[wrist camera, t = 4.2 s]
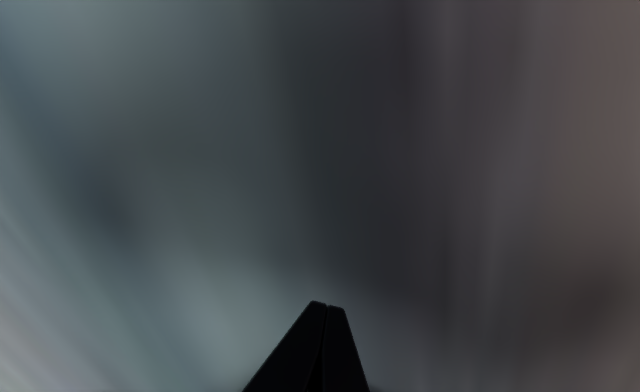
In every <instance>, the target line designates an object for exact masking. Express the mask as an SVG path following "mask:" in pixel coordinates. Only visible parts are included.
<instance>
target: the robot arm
mask: <svg viewBox="0 0 640 392" xmlns="http://www.w3.org/2000/svg"><path fill="white" fill-rule="evenodd" d="M307 389H308V390H307ZM242 392H370V390H369V387H368V384H367V381H366V378H365V374H364V371H363V368H362V365H361V361H360V358H359V355H358V352H357V349H356V345H355V342H354V339H353V336H352V333H351V329H350V326H349V323H348V320H347V317H346V313H345V311H344V309H343V308H341V307H337V306H333V305H328V306H327V305H326V304H325V303H321V302H318V301H311V302H310V303H309V304H308V305H307V307H306V308H305V309H304V311H303V312H302V313H301V315H300V316H299V317H298V319H297V320H296V321H295V322H294V324H293V325H292V326H291V328H290V329H289V330H288V332H287V333H286V334H285V336H284V337H283V338H282V340H281V341H280V342H279V343H278V345H277V346H276V347H275V349H274V350H273V351H272V353H271V354H270V355H269V357H268V358H267V359H266V361H265V362H264V363H263V364H262V366H261V367H260V368H259V370H258V371H257V372H256V374H255V375H254V376H253V378H252V379H251V380H250V382H249V383H248V384H247V385H246V387H245V388H244V389H243V391H242Z"/></svg>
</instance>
